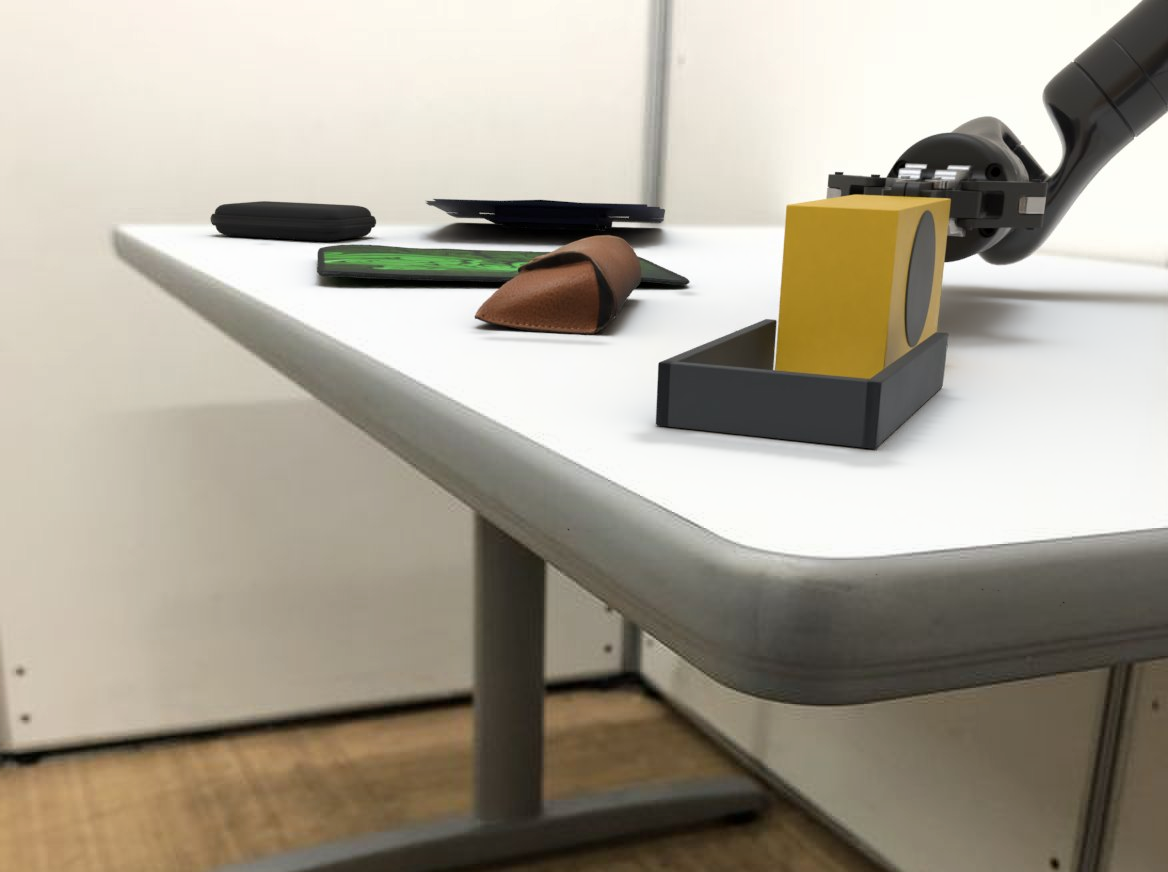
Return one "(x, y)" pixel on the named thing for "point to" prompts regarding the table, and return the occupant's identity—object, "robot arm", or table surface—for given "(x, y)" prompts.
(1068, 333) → the table surface
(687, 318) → the table surface
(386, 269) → the mouse mat
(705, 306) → the table surface
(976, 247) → the robot arm
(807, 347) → the tape measure
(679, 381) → the u-shaped bracket
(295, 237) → the carrying case
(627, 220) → the black angular plate
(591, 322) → the sunglasses case
